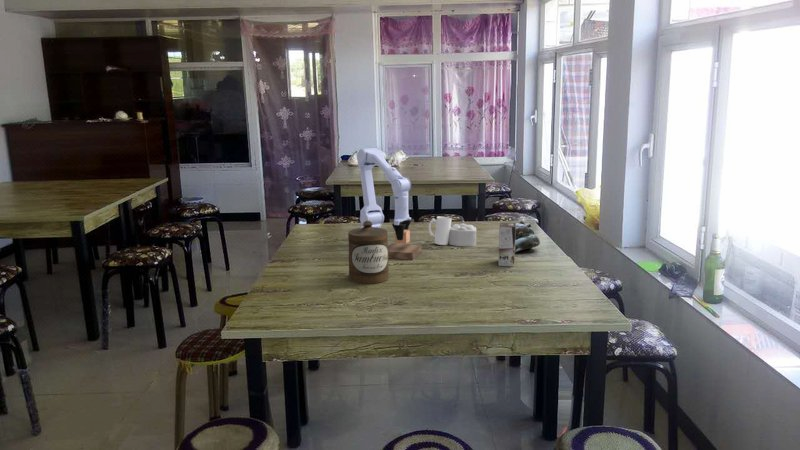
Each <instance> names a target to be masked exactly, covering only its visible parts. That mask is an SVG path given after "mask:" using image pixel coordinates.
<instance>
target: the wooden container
mask: <svg viewBox="0 0 800 450" xmlns="http://www.w3.org/2000/svg"><path fill="white" fill-rule="evenodd" d="M362 226H364V227H363V228H360V227H357V228H353V229H350V230H349V231H348V232H347V233H348V234H347V236H348V279H349V280H350V281H351V282H353V283H355V284H362V285H371V284H372V285H373V284H380V283H382V282H383V283H384V282H386V281H388V280H389V278H390V277H389V265H390V264H389V258H388V245H389V241H388V230H387V229H385V228H381V227H380V228H374V227H372V222H370V221H365V222H364V223H363V225H362Z"/></svg>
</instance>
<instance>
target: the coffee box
mask: <svg viewBox="0 0 800 450" xmlns="http://www.w3.org/2000/svg"><path fill="white" fill-rule="evenodd" d="M516 224H517V222H500V224H499V228H498V229H499V234H498V235H499V236H498V266H499V267H514V266H515V256H516V253H515V238H516Z"/></svg>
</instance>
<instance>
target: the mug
mask: <svg viewBox="0 0 800 450" xmlns="http://www.w3.org/2000/svg"><path fill="white" fill-rule="evenodd" d="M452 219H453V218H451V217H448V216H440V215H439V216H436V219H435V218H431V220H430V221H429V223H428V232H429V236H430V237H434V239H433V240H434V242H433V243H434V244H436V245H438V246H439V245H440V246H448V245H449V244H448V240H449V233H450V227H452ZM433 223H434V224H435V232H433V231H432V224H433Z"/></svg>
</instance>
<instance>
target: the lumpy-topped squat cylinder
mask: <svg viewBox="0 0 800 450" xmlns="http://www.w3.org/2000/svg"><path fill="white" fill-rule="evenodd" d="M448 245H450V246H453V247H454V246H456V247H475V246H477V227H476V226H474V225H473V224H466V223H463V222H462V223H460V224H458V223H455V224H453V225H451V227H450V233H449V240H448Z"/></svg>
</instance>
